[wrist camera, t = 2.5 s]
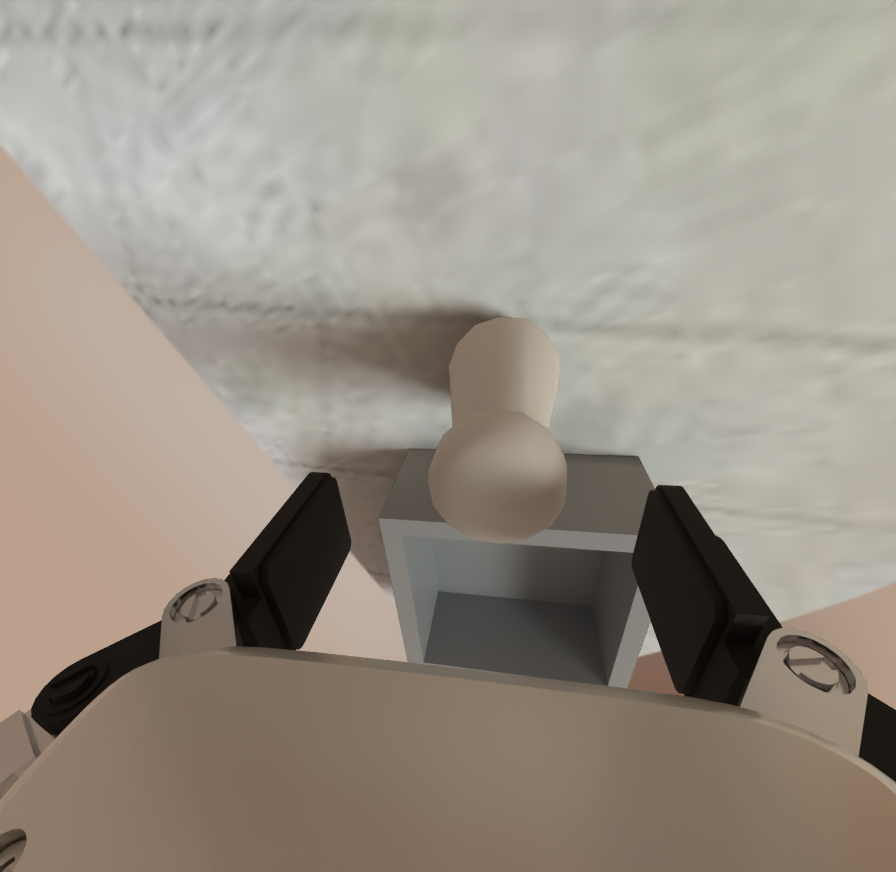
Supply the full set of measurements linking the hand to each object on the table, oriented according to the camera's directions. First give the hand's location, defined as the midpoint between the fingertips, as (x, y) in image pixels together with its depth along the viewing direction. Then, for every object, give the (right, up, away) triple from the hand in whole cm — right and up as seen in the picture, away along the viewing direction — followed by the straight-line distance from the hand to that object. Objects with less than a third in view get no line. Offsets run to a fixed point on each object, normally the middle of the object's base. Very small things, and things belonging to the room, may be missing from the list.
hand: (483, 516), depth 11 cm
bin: (+4, -5, +17) cm, 18 cm away
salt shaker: (+2, +7, +11) cm, 13 cm away
